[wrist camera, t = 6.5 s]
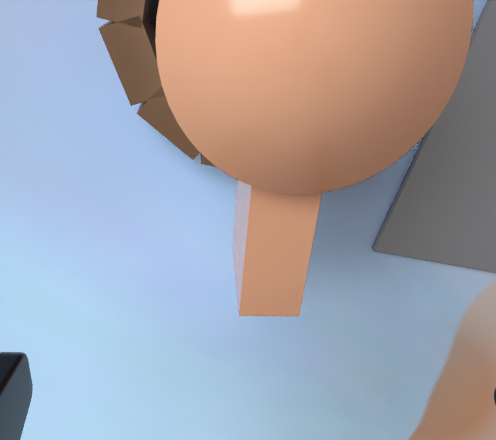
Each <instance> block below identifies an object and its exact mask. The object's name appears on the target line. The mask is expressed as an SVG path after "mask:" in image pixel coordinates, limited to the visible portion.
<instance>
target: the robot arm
mask: <svg viewBox="0 0 496 440" xmlns="http://www.w3.org/2000/svg"><path fill="white" fill-rule="evenodd" d="M31 397H32V380H31V374H30V368H29V362H28V358H27V356H26V354H25V353H22V352H1V353H0V440H20V438H21V434H22V431H23V427H24V423H25V420H26V416H27V413H28V409H29V405H30V402H31ZM494 400H495V404H496V389H495V391H494Z"/></svg>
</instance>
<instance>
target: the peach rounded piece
mask: <svg viewBox="0 0 496 440" xmlns="http://www.w3.org/2000/svg"><path fill="white" fill-rule="evenodd" d="M472 25H473V0H159V5H158V11H157V17H156V38H155V43H156V55H157V65H158V70H159V75H160V79H161V84H162V87H163V90H164V93H165V96H166V99H167V102H168V105H169V107H170V109H171V111H172V113H173V115H174V117H175V119H176V121H177V123H178V124H179V126H180V127H181V129H182V130H183V132H184V133H185V135H186V136H187V138H188V139H189V140H190V141H191V143H192V144H193V145H194V146H195V147H196V148H197V150H198V151H199V152H200V153H201V154H202V155H203V156H204V157H206V158H207V159H208V160H209V161H210V162H211V163H212V164H213V165H215V166H216V167H218V168H219V169H221V170H222V171H224V172H225V173H227V174H228V175H230V176H232V177H234V178H235V179H237V180H238V184H237V197H236V210H235V223H234V236H233V257H234V268H235V278H236V289H237V299H238V310H239V316H299V314H300V309H301V303H302V298H303V292H304V287H305V281H306V276H307V271H308V265H309V260H310V254H311V249H312V243H313V238H314V233H315V227H316V222H317V216H318V211H319V205H320V200H321V195H322V193H323V192H330V191H334V190H337V189H341V188H345V187H348V186H351V185H353V184H356V183H359V182H361V181H364V180H366V179H368V178H370V177H372V176H374V175H375V174H377V173H379V172H381V171H383V170H384V169H386V168H387V167H389V166H390V165H392V164H393V163H395V162H396V161H397V160H399V159H400V158H401V157H402V156H403V155H405V154H406V153H407V152H408V151H409V150H411V149H412V148H413V147H414V146H415V145H416V144H417V143H418V142H419V141H420V140H421V138H422V137H423V136H424V135H425V134H426V133H427V132H428V130H429V129H430V128H431V127H432V125H433V124H434V123H435V122H436V120H437V119H438V117H439V116H440V114H441V113H442V111H443V110H444V108H445V106H446V105H447V103H448V101H449V99H450V97H451V95H452V93H453V91H454V89H455V88H456V86H457V83H458V81H459V78H460V75H461V73H462V70H463V67H464V65H465V61H466V57H467V53H468V49H469V45H470V40H471V32H472Z"/></svg>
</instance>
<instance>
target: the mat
mask: <svg viewBox="0 0 496 440" xmlns="http://www.w3.org/2000/svg"><path fill="white" fill-rule="evenodd" d="M372 249H373V250H374V251H376V252H382V253H388V254H393V255H399V256H404V257H410V258H416V259H421V260H427V261H433V262H438V263H444V264H449V265H455V266H461V267H466V268H472V269H477V270H483V271H489V272H494V273H496V0H488V1H487V3H486V6H485V8H484V10H483V12H482V14H481V16H480V18H479V21H478V23H477V25H476V27H475V29H474V31H473V33H472V35H471V40H470V45H469V49H468V53H467V57H466V61H465V65H464V67H463V70H462V73H461V75H460V78H459V81H458V83H457V86H456V88H455V89H454V91H453V93H452V95H451V97H450V99H449V101H448V103H447V105H446V106H445V108H444V110H443V111H442V113H441V114H440V116H439V117H438V119H437V120H436V122H435V123H434V124H433V125H432V127H431V128H430V129H429V130H428V132H427V133H426V134H425V136H424V138H423V140H422V142H421V144H420V147H419V149H418V151H417V153H416V155H415V157H414V159H413V161H412V164H411V166H410V168H409V170H408V172H407V174H406V176H405V179H404V181H403V183H402V185H401V187H400V189H399V191H398V194H397V196H396V198H395V200H394V202H393V204H392V206H391V208H390V211H389V213H388V215H387V217H386V219H385V221H384V223H383V226H382V228H381V230H380V232H379V234H378V236H377V238H376V241H375V243H374V245H373V247H372Z"/></svg>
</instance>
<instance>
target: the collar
mask: <svg viewBox="0 0 496 440" xmlns="http://www.w3.org/2000/svg"><path fill="white" fill-rule="evenodd" d="M150 2H151V0H98V7H97V17H98V18H102V19H106V20H110V21H109V22H108V23H106V24H104V25H103V26H101V27H100V28H99V31H100V33H101V35H102V38H103V40H104V42H105V45H106V47H107V50H108V52H109V54H110V57H111V59H112V61H113V64H114V66H115V69H116V71H117V73H118V76H119V78H120V80H121V83H122V85H123V88H124V90H125V92H126V95H127V97H128V99H129V102H130V104H131V106H132V105H135V104H138V103H141V106H140V108H139V110H138V112H137V114H138V115H139V116H141V117H142V118H143V119H144V120H145V121H147V122H148V123H149V124H150V125H151V126H153V127H154V128H155V129H156V130H158V131H159V132H160V133H161V134H162V135H164V136H165V137H166V138H167V139H168V140H170V141H171V142H172V143H173V144H174V145H176V146H177V147H178V148H179V149H180V150H182V151H183V152H184V153H185V154H187V155H188V156H189V157H190V158H191V159H194V158H195V157H196V156H197V155H198V154H199V153H200V152H199V151H198V150H197V148H196V147H195V146H194V145H193V144H192V143H191V141H190V140H189V139H188V138H187V136H186V135H185V133H184V132H183V130H182V129H181V127H180V126H179V124H178V123H177V121H176V119H175V117H174V115H173V113H172V111H171V109H170V107H169V105H168V102H167V99H166V96H165V93H164V90H163V87H162V84H161V79H160V75H159V70H158V65H157V55H156V43H155V38H156V35H155V32H154V29H153V26H152V24H151V21H150V18H149V9H150ZM201 164H205V165H210V166H215V165H213V164H212V163H211V162H210V161H209V160H208V159H207V158H206V157H204V156H203V155H202V154H201ZM215 167H216V166H215Z"/></svg>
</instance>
